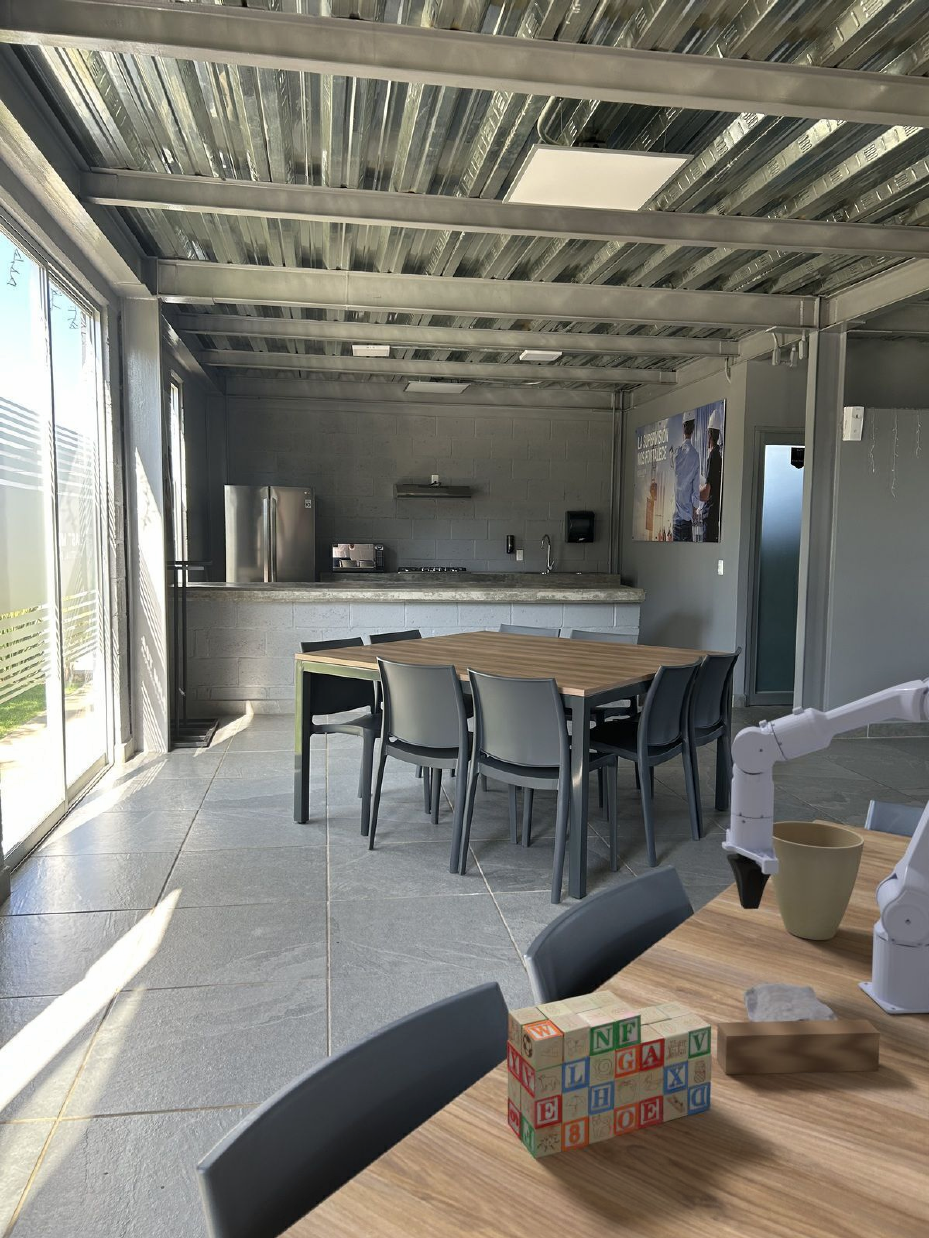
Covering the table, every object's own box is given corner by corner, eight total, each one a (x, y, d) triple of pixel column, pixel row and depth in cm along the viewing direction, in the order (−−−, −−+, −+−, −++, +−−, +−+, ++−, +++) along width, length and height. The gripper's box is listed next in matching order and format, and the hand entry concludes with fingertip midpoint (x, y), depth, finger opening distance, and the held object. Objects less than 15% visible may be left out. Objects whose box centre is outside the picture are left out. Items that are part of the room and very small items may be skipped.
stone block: (768, 1068, 106) (849, 1052, 106) (760, 1029, 106) (842, 1013, 106) (737, 1021, 118) (810, 1007, 118) (730, 986, 118) (803, 971, 118)
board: (865, 1056, 105) (866, 1019, 105) (878, 1070, 102) (879, 1032, 102) (716, 1059, 104) (717, 1022, 104) (725, 1074, 101) (726, 1035, 101)
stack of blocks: (675, 1079, 100) (678, 973, 100) (711, 1110, 95) (714, 998, 94) (505, 1123, 92) (507, 1008, 91) (533, 1161, 86) (535, 1038, 86)
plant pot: (872, 954, 134) (876, 850, 133) (770, 946, 136) (772, 844, 135) (847, 916, 148) (850, 822, 147) (755, 910, 151) (757, 818, 150)
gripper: (707, 799, 132) (705, 889, 133) (743, 827, 118) (740, 927, 118) (753, 799, 132) (751, 888, 133) (795, 827, 118) (792, 927, 119)
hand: (749, 907), depth 126 cm, fingers closed
